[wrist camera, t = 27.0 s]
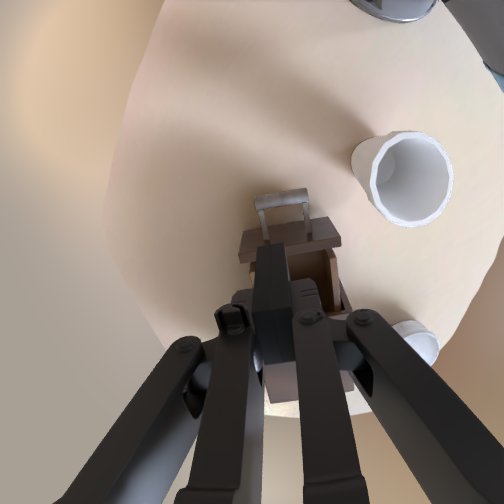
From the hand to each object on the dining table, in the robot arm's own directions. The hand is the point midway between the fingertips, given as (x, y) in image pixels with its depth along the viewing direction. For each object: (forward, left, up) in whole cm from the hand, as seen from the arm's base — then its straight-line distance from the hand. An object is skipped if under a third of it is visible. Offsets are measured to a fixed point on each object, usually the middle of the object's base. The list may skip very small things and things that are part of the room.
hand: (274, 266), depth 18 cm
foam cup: (-1, +14, -25) cm, 28 cm away
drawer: (+9, +1, -24) cm, 25 cm away
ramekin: (+30, +18, -25) cm, 43 cm away
